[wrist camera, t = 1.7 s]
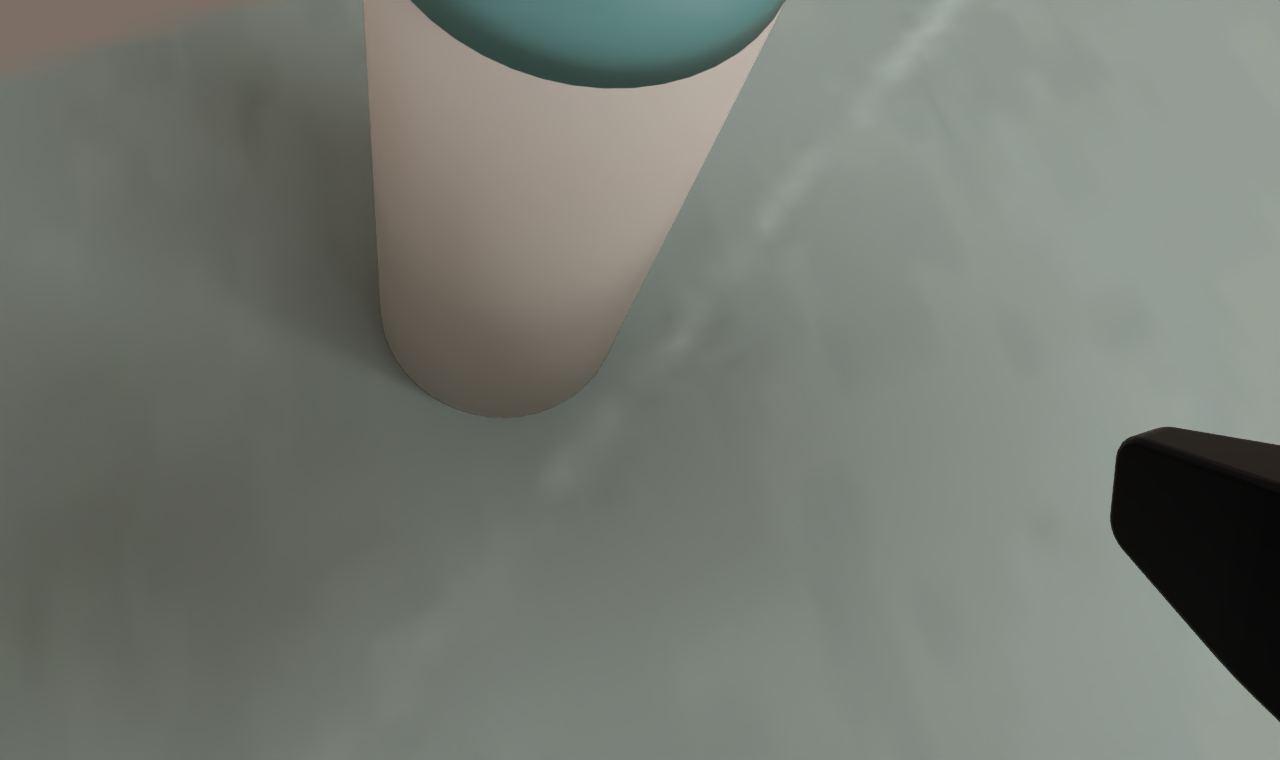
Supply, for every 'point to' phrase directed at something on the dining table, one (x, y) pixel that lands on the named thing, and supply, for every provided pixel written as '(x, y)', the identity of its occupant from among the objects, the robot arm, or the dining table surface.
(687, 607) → the dining table surface
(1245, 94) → the dining table surface
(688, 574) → the dining table surface
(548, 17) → the beige teal capped bottle
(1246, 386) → the dining table surface
